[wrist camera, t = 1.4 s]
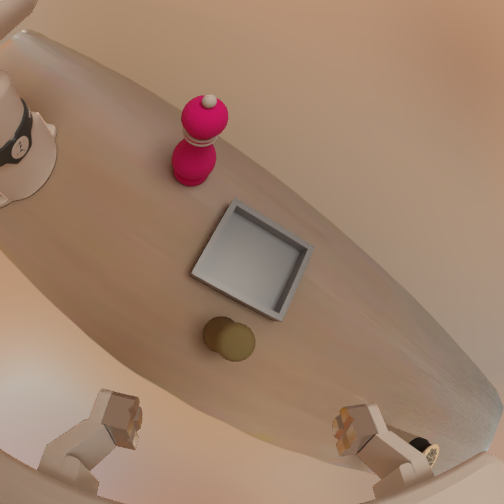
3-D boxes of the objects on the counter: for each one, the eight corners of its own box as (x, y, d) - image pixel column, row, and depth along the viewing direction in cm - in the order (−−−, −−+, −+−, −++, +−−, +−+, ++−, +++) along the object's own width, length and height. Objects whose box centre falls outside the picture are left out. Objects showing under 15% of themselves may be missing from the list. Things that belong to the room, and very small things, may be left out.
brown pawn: (246, 327, 45) (269, 333, 35) (228, 359, 43) (248, 374, 33) (214, 309, 44) (229, 311, 34) (196, 342, 42) (205, 354, 32)
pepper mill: (183, 147, 47) (198, 69, 29) (217, 164, 49) (250, 91, 30) (163, 178, 45) (167, 104, 27) (200, 196, 47) (224, 129, 28)
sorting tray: (189, 275, 44) (191, 273, 41) (229, 204, 48) (234, 197, 45) (273, 320, 47) (281, 321, 43) (305, 250, 51) (314, 246, 48)
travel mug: (387, 421, 50) (445, 441, 33) (376, 450, 48) (429, 475, 31) (365, 421, 48) (424, 445, 32) (352, 451, 46) (407, 482, 29)
